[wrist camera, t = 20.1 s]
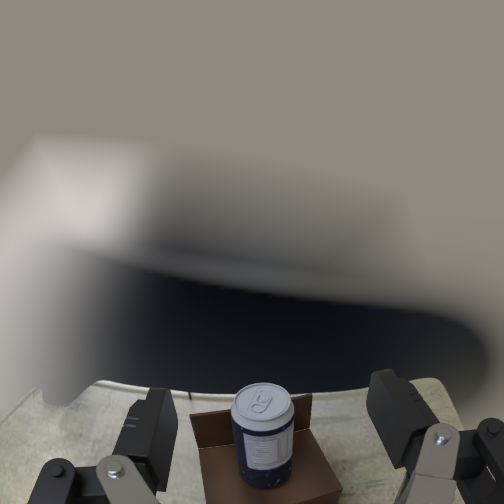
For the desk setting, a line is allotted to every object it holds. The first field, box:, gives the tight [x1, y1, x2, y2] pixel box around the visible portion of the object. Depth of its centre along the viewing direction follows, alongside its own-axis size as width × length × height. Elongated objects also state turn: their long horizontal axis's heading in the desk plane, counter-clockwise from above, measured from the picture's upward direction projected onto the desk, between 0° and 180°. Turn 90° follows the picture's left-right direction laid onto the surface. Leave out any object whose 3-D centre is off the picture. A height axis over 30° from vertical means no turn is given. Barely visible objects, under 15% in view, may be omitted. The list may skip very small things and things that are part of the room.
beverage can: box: [230, 383, 295, 488], centre depth 26 cm, size 6×6×12 cm
